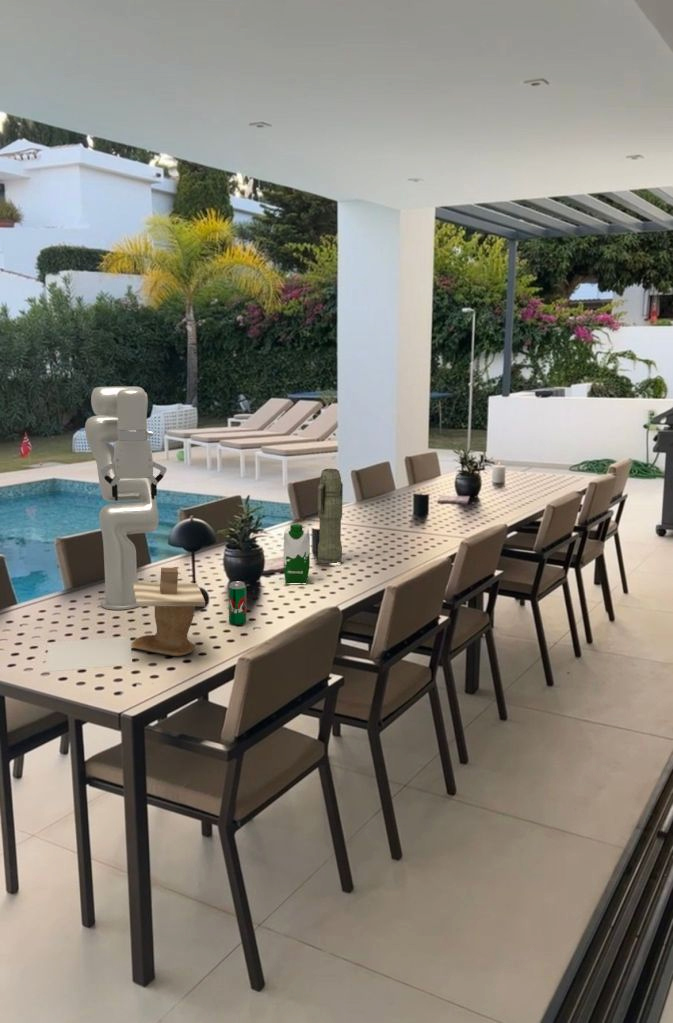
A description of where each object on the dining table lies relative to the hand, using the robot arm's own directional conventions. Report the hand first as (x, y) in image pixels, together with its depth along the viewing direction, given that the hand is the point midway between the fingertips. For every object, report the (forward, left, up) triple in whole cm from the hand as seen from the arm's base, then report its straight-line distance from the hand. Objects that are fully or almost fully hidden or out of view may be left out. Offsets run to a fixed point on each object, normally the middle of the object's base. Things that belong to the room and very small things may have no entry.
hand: (134, 499), depth 231 cm
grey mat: (+15, -13, -38) cm, 43 cm away
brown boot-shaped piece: (+16, +7, -38) cm, 42 cm away
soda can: (-2, +28, -38) cm, 47 cm away
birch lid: (+16, +7, -23) cm, 29 cm away
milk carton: (-41, +54, -38) cm, 78 cm away
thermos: (-62, +71, -38) cm, 102 cm away
